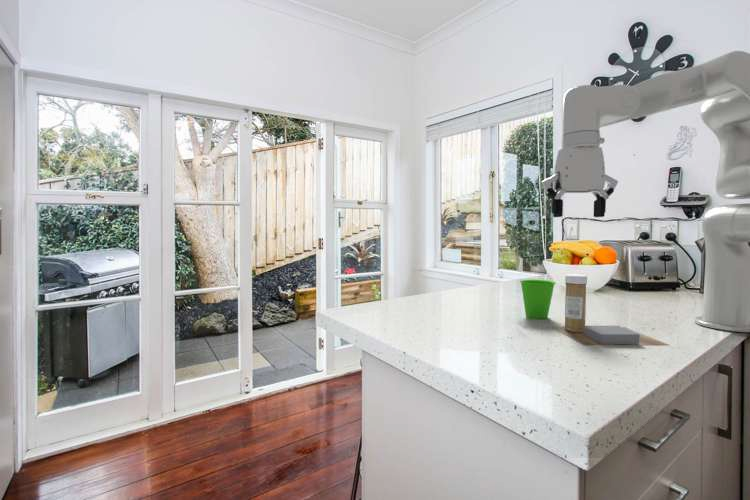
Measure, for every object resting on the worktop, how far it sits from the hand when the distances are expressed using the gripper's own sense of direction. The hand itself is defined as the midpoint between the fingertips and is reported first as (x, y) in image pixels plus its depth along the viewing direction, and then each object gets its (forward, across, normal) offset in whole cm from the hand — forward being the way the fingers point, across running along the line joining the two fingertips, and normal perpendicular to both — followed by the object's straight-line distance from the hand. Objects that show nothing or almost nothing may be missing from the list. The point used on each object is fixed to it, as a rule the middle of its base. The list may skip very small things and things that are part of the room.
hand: (578, 216), depth 86 cm
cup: (+28, +3, -14) cm, 32 cm away
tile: (+26, -8, +7) cm, 28 cm away
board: (+28, -5, +4) cm, 29 cm away
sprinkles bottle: (+27, 0, 0) cm, 27 cm away
